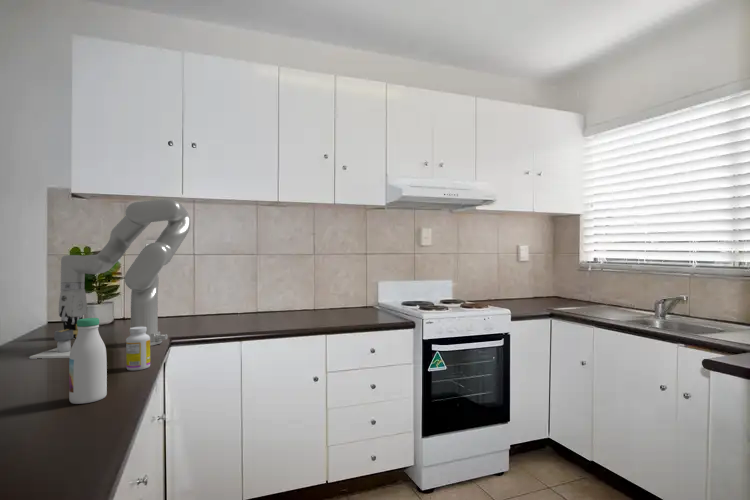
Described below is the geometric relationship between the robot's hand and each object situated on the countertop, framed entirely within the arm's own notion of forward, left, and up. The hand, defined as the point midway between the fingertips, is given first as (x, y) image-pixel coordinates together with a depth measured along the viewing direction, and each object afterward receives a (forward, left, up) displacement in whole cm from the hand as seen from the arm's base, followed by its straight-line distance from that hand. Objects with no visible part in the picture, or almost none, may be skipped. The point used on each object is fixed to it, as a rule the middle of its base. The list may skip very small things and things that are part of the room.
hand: (71, 334), depth 162 cm
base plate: (-2, +8, -6) cm, 10 cm away
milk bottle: (-42, +60, -6) cm, 74 cm away
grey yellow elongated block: (-2, +5, -1) cm, 6 cm away
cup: (+14, -22, -6) cm, 26 cm away
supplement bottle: (-40, +31, -6) cm, 51 cm away
